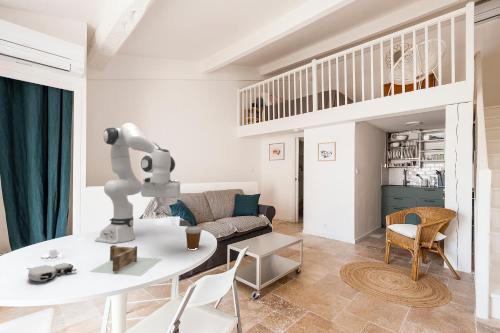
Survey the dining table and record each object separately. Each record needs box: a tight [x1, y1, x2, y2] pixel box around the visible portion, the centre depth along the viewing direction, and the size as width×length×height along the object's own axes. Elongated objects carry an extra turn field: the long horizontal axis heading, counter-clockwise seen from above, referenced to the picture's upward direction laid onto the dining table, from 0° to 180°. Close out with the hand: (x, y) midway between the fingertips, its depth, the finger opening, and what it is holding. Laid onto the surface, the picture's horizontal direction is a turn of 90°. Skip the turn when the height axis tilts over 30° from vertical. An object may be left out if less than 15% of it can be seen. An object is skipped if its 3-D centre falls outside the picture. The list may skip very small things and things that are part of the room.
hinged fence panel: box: [113, 247, 136, 272], centre depth 112 cm, size 13×2×6 cm, turn 169°
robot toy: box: [26, 262, 78, 283], centre depth 102 cm, size 12×4×15 cm
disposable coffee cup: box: [184, 226, 203, 249], centre depth 143 cm, size 10×10×12 cm
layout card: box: [89, 256, 163, 277], centre depth 115 cm, size 24×20×1 cm
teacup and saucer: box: [40, 248, 64, 262], centre depth 123 cm, size 9×8×4 cm
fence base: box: [109, 244, 138, 262], centre depth 120 cm, size 14×2×7 cm, turn 83°
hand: (160, 205), depth 127 cm, fingers closed
